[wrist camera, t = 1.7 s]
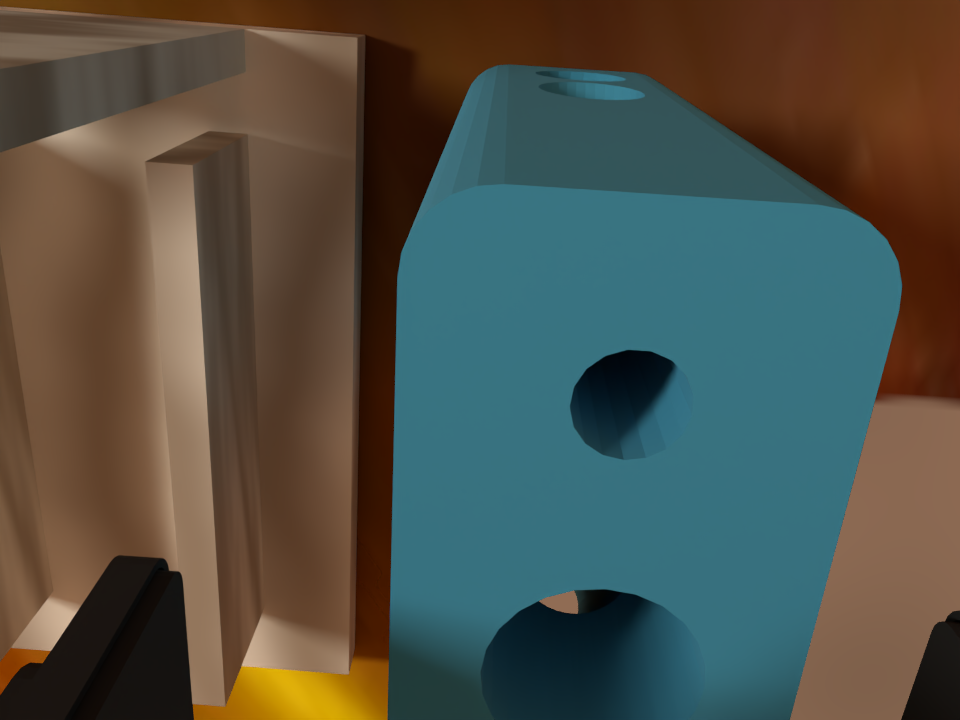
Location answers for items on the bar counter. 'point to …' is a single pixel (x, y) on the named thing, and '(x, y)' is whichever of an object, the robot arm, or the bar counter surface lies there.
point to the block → (621, 409)
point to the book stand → (182, 329)
